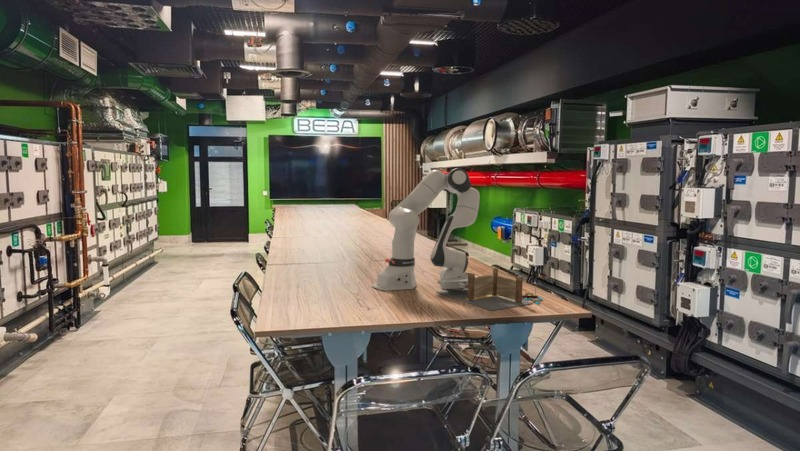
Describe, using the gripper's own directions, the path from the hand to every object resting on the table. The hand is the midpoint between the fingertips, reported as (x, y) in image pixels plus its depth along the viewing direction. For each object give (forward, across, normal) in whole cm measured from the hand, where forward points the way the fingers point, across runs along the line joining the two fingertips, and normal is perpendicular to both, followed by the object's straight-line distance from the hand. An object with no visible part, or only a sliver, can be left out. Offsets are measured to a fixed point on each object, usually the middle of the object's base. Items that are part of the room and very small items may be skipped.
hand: (467, 286), depth 236 cm
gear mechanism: (+6, +29, +6) cm, 30 cm away
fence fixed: (+5, +17, +5) cm, 18 cm away
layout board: (0, +8, +5) cm, 9 cm away
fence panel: (+2, +6, +4) cm, 8 cm away
